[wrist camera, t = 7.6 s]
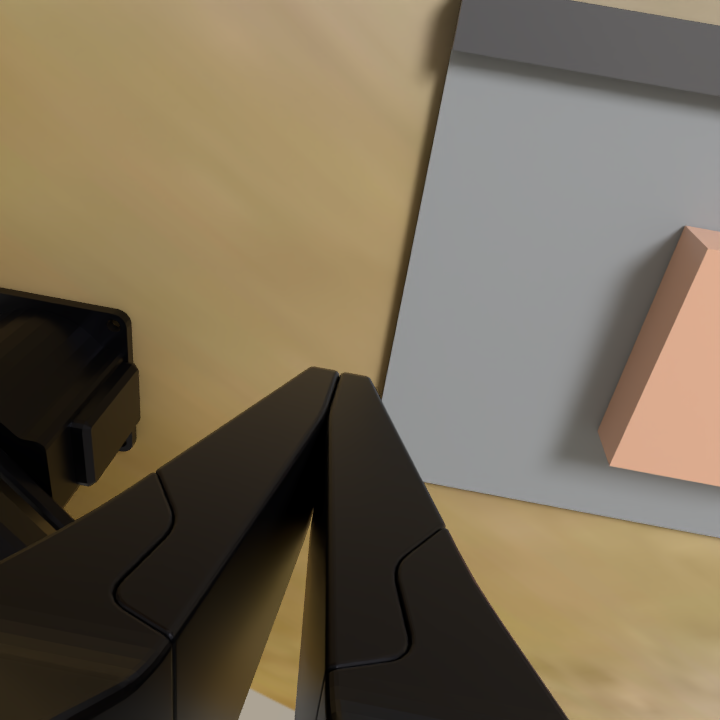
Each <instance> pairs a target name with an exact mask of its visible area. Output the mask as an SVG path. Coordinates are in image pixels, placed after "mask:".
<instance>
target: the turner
mask: <svg viewBox="0 0 720 720" xmlns="http://www.w3.org/2000/svg"><path fill="white" fill-rule="evenodd" d="M452 50H456V51H461V52H467V53H473V54H479V55H484V56H490V57H496V58H502V59H508V60H513V61H519V62H525V63H531V64H536V65H542V66H548V67H554V68H559V69H565V70H571V71H577V72H582V73H588V74H594V75H600V76H605V77H611V78H617V79H623V80H628V81H634V82H640V83H646V84H651V85H657V86H663V87H669V88H674V89H680V90H686V91H692V92H698V93H703V94H709V95H715V96H720V26H718V25H712V24H706V23H700V22H694V21H688V20H682V19H677V18H671V17H665V16H659V15H653V14H647V13H642V12H636V11H630V10H624V9H618V8H612V7H607V6H601V5H595V4H589V3H583V2H577V1H571V0H461V5H460V10H459V15H458V20H457V25H456V30H455V35H454V40H453V45H452Z"/></svg>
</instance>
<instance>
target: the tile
mask: <svg viewBox="0 0 720 720" xmlns="http://www.w3.org/2000/svg"><path fill="white" fill-rule="evenodd" d="M598 434H599V437H600V440H601V443H602V446H603V449H604V452H605V455H606V458H607V460H608V463H609V466H613V467H618V468H623V469H629V470H634V471H639V472H645V473H650V474H655V475H661V476H666V477H671V478H677V479H682V480H687V481H693V482H698V483H703V484H709V485H714V486H719V487H720V232H719V231H713V230H708V229H702V228H696V227H691V226H685V227H684V229H683V232H682V234H681V236H680V239H679V241H678V243H677V246H676V248H675V250H674V253H673V255H672V257H671V260H670V262H669V264H668V267H667V269H666V272H665V274H664V276H663V279H662V281H661V283H660V286H659V288H658V290H657V293H656V295H655V297H654V300H653V302H652V304H651V307H650V309H649V311H648V314H647V316H646V318H645V321H644V323H643V325H642V328H641V330H640V333H639V335H638V337H637V340H636V342H635V344H634V347H633V349H632V351H631V354H630V356H629V358H628V361H627V363H626V365H625V368H624V370H623V372H622V375H621V377H620V379H619V382H618V384H617V386H616V389H615V391H614V394H613V396H612V398H611V401H610V403H609V405H608V408H607V410H606V412H605V415H604V417H603V419H602V422H601V424H600V426H599V429H598Z"/></svg>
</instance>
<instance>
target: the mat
mask: <svg viewBox="0 0 720 720" xmlns="http://www.w3.org/2000/svg"><path fill="white" fill-rule="evenodd" d="M685 226H691V227H696V228H702V229H708V230H713V231H719V232H720V96H715V95H709V94H703V93H698V92H692V91H686V90H680V89H674V88H669V87H663V86H657V85H651V84H646V83H640V82H634V81H628V80H623V79H617V78H611V77H605V76H600V75H594V74H588V73H582V72H577V71H571V70H565V69H559V68H554V67H548V66H542V65H536V64H531V63H525V62H519V61H513V60H508V59H502V58H496V57H490V56H484V55H479V54H473V53H467V52H461V51H456V50H451V55H450V60H449V65H448V70H447V75H446V80H445V85H444V90H443V95H442V100H441V105H440V110H439V115H438V120H437V125H436V130H435V135H434V140H433V145H432V150H431V155H430V160H429V165H428V170H427V175H426V180H425V185H424V190H423V195H422V200H421V205H420V210H419V215H418V220H417V225H416V230H415V235H414V240H413V245H412V250H411V255H410V260H409V265H408V270H407V276H406V281H405V286H404V291H403V296H402V301H401V306H400V311H399V316H398V321H397V326H396V331H395V336H394V341H393V346H392V351H391V356H390V361H389V366H388V371H387V376H386V381H385V386H384V391H383V396H382V403H383V404H384V406H385V408H386V410H387V412H388V414H389V416H390V418H391V420H392V422H393V424H394V426H395V428H396V430H397V432H398V434H399V436H400V438H401V440H402V442H403V443H404V445H405V447H406V449H407V451H408V453H409V455H410V457H411V459H412V461H413V463H414V465H415V467H416V469H417V471H418V473H419V475H420V477H421V479H422V481H423V482H427V483H432V484H438V485H443V486H448V487H453V488H459V489H464V490H469V491H474V492H480V493H485V494H490V495H496V496H501V497H506V498H511V499H517V500H522V501H527V502H533V503H538V504H543V505H548V506H554V507H559V508H564V509H569V510H575V511H580V512H585V513H591V514H596V515H601V516H606V517H612V518H617V519H622V520H627V521H633V522H638V523H643V524H649V525H654V526H659V527H664V528H670V529H675V530H680V531H686V532H691V533H696V534H701V535H707V536H712V537H717V538H720V487H719V486H714V485H709V484H703V483H698V482H693V481H687V480H682V479H677V478H671V477H666V476H661V475H655V474H650V473H645V472H639V471H634V470H629V469H623V468H618V467H613V466H609V463H608V460H607V458H606V455H605V452H604V449H603V446H602V443H601V440H600V437H599V434H598V429H599V426H600V424H601V422H602V419H603V417H604V415H605V412H606V410H607V408H608V405H609V403H610V401H611V398H612V396H613V394H614V391H615V389H616V386H617V384H618V382H619V379H620V377H621V375H622V372H623V370H624V368H625V365H626V363H627V361H628V358H629V356H630V354H631V351H632V349H633V347H634V344H635V342H636V340H637V337H638V335H639V333H640V330H641V328H642V325H643V323H644V321H645V318H646V316H647V314H648V311H649V309H650V307H651V304H652V302H653V300H654V297H655V295H656V293H657V290H658V288H659V286H660V283H661V281H662V279H663V276H664V274H665V272H666V269H667V267H668V264H669V262H670V260H671V257H672V255H673V253H674V250H675V248H676V246H677V243H678V241H679V239H680V236H681V234H682V232H683V229H684V227H685Z"/></svg>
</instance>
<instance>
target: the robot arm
mask: <svg viewBox="0 0 720 720" xmlns="http://www.w3.org/2000/svg"><path fill="white" fill-rule="evenodd" d="M112 320H115V321H117V322H118V323H119V324H120V327H117V326H115V325H114V324H113V322H112ZM139 421H140V395H139V371H138V369H137V367H136V365H135V364H134V363H133V349H132V327H131V320H130V318H129V316H128V315H127V314H126V313H125V312H123V311H121V310H119V309H114V308H109V307H103V306H98V305H92V304H87V303H82V302H76V301H71V300H65V299H60V298H55V297H49V296H44V295H38V294H33V293H28V292H22V291H17V290H11V289H6V288H1V287H0V720H238V718H239V715H240V713H241V710H242V707H243V705H244V702H245V699H246V697H247V694H248V691H249V689H250V686H251V683H252V680H253V678H254V675H255V672H256V670H257V667H258V664H259V662H260V659H261V656H262V653H263V651H264V648H265V645H266V643H267V640H268V637H269V634H270V632H271V629H272V626H273V624H274V621H275V618H276V615H277V613H278V610H279V607H280V605H281V602H282V599H283V597H284V594H285V591H286V588H287V586H288V583H289V580H290V578H291V575H292V572H293V569H294V567H295V564H296V561H297V559H298V556H299V553H300V550H301V548H302V545H303V542H304V540H305V537H306V534H307V531H308V528H309V525H310V521H311V517H312V523H311V532H310V540H309V552H308V564H307V577H306V589H305V601H304V613H303V625H302V637H301V649H300V661H299V673H298V685H297V697H296V709H295V720H569V719H568V718H567V716H566V715H565V713H564V712H563V710H562V709H561V707H560V706H559V705H558V703H557V702H556V700H555V699H554V697H553V696H552V694H551V693H550V691H549V690H548V689H547V687H546V686H545V684H544V683H543V681H542V680H541V678H540V677H539V675H538V674H537V672H536V671H535V670H534V668H533V667H532V665H531V664H530V662H529V661H528V659H527V658H526V656H525V655H524V654H523V652H522V651H521V649H520V648H519V646H518V645H517V643H516V642H515V640H514V639H513V638H512V636H511V635H510V633H509V632H508V630H507V629H506V627H505V626H504V624H503V623H502V621H501V620H500V618H499V617H498V615H497V614H496V612H495V611H494V609H493V608H492V606H491V605H490V603H489V601H488V600H487V598H486V597H485V595H484V594H483V592H482V591H481V589H480V587H479V586H478V584H477V583H476V581H475V579H474V577H473V576H472V574H471V572H470V570H469V568H468V567H467V565H466V563H465V561H464V559H463V558H462V556H461V554H460V552H459V551H458V549H457V547H456V545H455V543H454V541H453V539H452V537H451V535H450V533H449V531H448V530H447V529H446V528H445V523H444V521H443V520H442V518H441V516H440V514H439V512H438V510H437V508H436V506H435V504H434V502H433V500H432V498H431V496H430V494H429V492H428V490H427V488H426V486H425V484H424V482H423V481H422V479H421V477H420V475H419V473H418V471H417V469H416V467H415V465H414V463H413V461H412V459H411V457H410V455H409V453H408V451H407V449H406V447H405V445H404V443H403V442H402V440H401V438H400V436H399V434H398V432H397V430H396V428H395V426H394V424H393V422H392V420H391V418H390V416H389V414H388V412H387V410H386V408H385V406H384V404H383V403H382V401H381V399H380V397H379V395H378V393H377V391H376V389H375V387H374V385H373V383H372V381H371V379H370V378H369V377H367V376H363V375H357V374H352V373H342V374H341V375H340V377H339V373H338V372H337V371H335V370H330V369H325V368H319V367H310V368H308V369H306V370H305V371H303V372H302V373H300V374H299V375H297V376H296V377H294V378H293V379H292V380H290V381H289V382H287V383H286V384H284V385H283V386H281V387H280V388H278V389H277V390H275V391H274V392H272V393H271V394H269V395H268V396H266V397H265V398H263V399H262V400H260V401H259V402H257V403H256V404H254V405H253V406H251V407H250V408H248V409H247V410H245V411H244V412H242V413H241V414H239V415H238V416H236V417H235V418H233V419H232V420H230V421H229V422H227V423H226V424H224V425H223V426H221V427H220V428H218V429H217V430H215V431H214V432H212V433H211V434H209V435H208V436H206V437H205V438H203V439H202V440H200V441H199V442H197V443H196V444H194V445H193V446H191V447H190V448H189V449H187V450H186V451H184V452H183V453H181V454H180V455H178V456H177V457H175V458H174V459H172V460H171V461H169V462H168V463H166V464H165V465H163V466H162V467H160V468H159V469H157V471H156V473H151V474H149V475H148V476H146V477H145V478H143V479H142V480H140V481H139V482H137V483H136V484H134V485H133V486H131V487H130V488H128V489H127V490H125V491H123V492H122V493H120V494H119V495H117V496H115V497H114V498H112V499H111V500H109V501H108V502H106V503H104V504H103V505H101V506H100V507H98V508H96V509H95V510H93V511H91V512H89V513H88V514H86V515H84V516H82V517H81V518H79V519H77V520H74V519H73V518H72V517H71V516H70V515H69V514H68V513H67V512H66V511H65V510H64V509H63V508H64V507H65V505H66V504H67V503H68V501H69V500H70V498H71V497H72V496H73V494H74V493H75V492H76V490H77V489H78V487H79V486H80V485H84V486H91V485H93V484H94V483H96V482H97V481H98V479H99V478H100V476H101V475H102V474H103V472H104V471H105V469H106V468H107V466H108V465H109V464H110V462H111V461H112V459H113V458H114V456H115V455H116V453H117V452H118V451H128V450H130V449H131V448H132V447H133V445H134V444H135V442H136V425H137V423H138V422H139ZM312 514H313V516H312Z"/></svg>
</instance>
